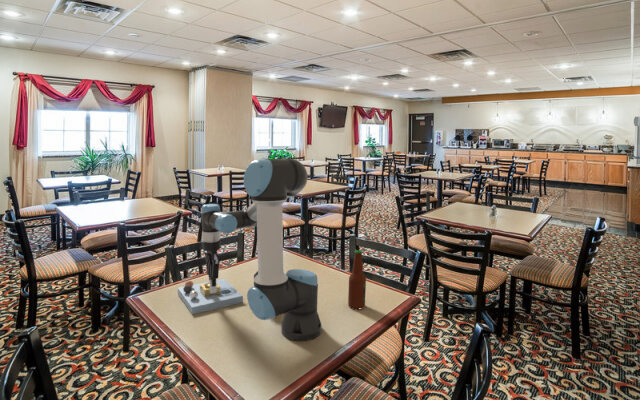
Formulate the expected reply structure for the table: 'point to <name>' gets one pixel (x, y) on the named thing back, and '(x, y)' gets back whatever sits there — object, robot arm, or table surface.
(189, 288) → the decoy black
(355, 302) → the bottle
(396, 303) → the table surface
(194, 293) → the steel ball
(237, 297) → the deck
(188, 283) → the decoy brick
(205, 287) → the yellow square block
